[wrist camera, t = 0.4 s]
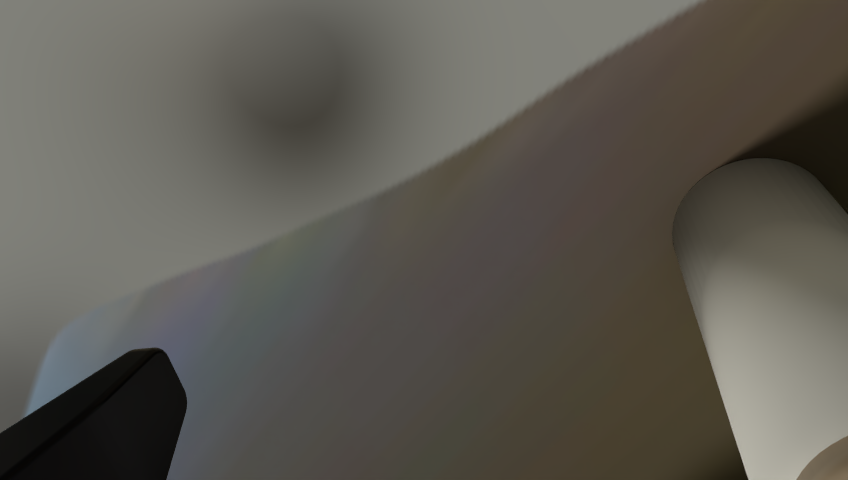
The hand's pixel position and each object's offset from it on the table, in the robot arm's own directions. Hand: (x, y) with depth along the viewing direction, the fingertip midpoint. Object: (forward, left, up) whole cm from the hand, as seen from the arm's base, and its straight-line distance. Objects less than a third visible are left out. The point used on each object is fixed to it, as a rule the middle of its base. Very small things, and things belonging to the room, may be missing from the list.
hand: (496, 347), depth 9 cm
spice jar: (-7, -6, -16) cm, 18 cm away
